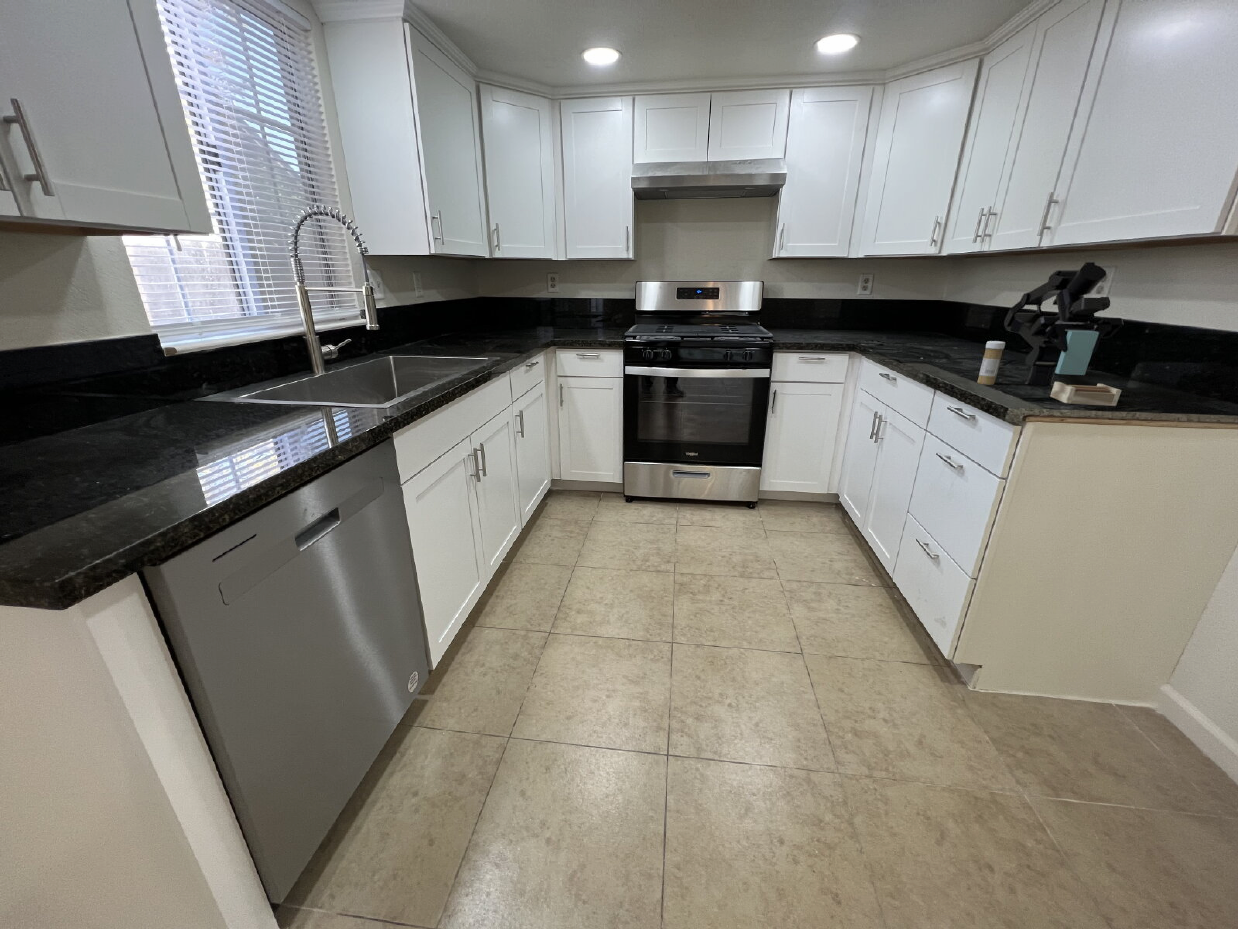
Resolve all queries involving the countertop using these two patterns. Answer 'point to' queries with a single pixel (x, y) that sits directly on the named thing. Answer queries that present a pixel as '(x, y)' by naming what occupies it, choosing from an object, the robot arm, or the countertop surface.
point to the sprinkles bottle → (991, 362)
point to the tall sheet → (1077, 352)
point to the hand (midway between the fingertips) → (1079, 351)
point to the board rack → (1085, 395)
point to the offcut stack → (1090, 388)
